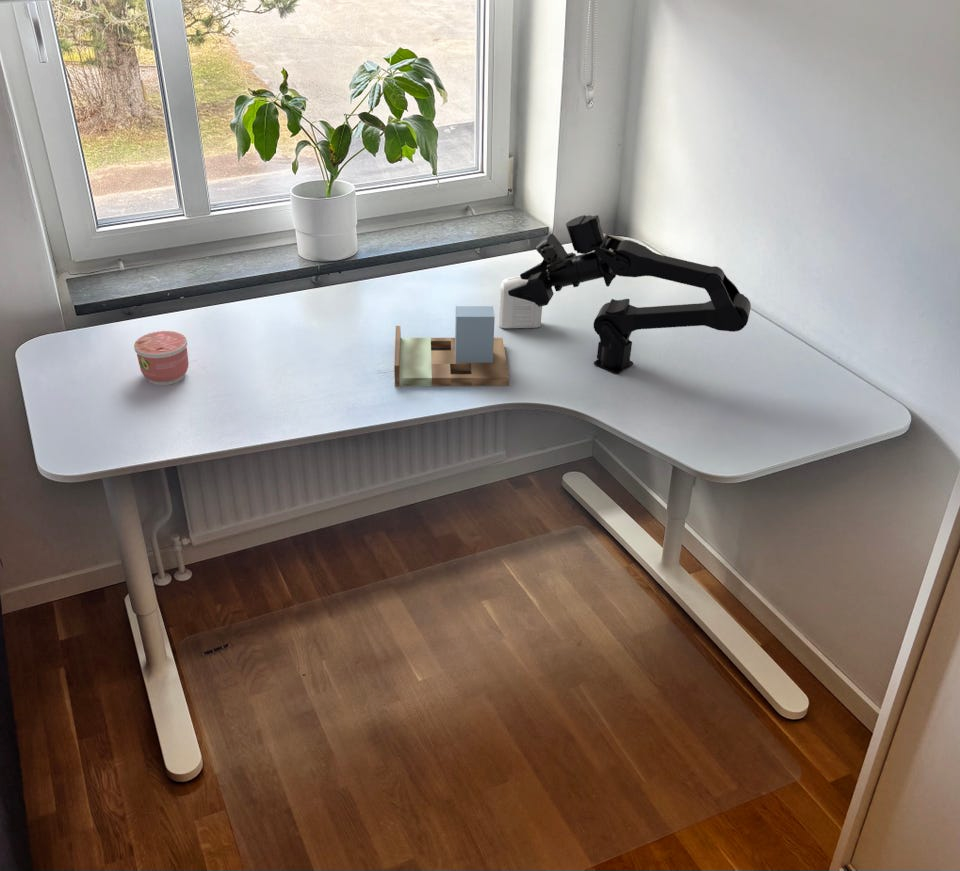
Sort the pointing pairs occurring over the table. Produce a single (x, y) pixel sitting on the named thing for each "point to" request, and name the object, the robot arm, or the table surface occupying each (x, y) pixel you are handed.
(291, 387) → the table surface
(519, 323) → the photo printer
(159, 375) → the container
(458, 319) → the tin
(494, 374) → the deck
